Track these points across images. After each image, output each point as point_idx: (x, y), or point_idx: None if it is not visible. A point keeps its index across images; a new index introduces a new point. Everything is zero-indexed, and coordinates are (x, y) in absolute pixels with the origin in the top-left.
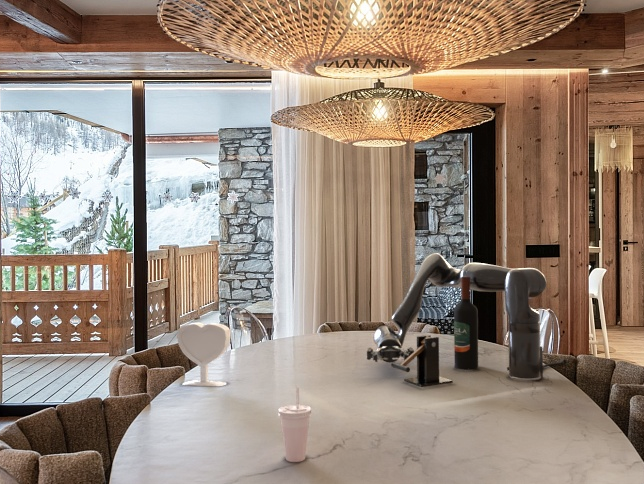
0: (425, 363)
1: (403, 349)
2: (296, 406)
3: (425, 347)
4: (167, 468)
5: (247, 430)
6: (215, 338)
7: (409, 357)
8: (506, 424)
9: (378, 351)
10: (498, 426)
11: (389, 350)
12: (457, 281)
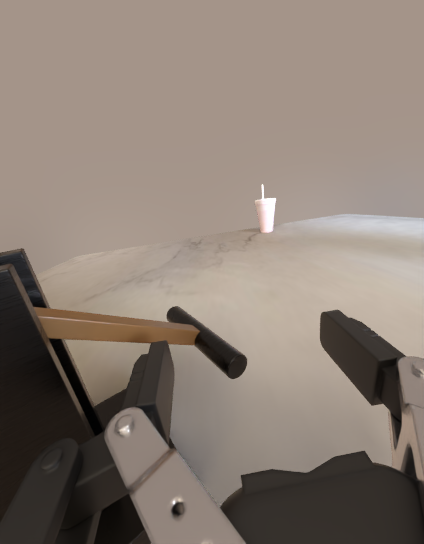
0: (75, 368)
1: (135, 481)
2: (263, 197)
3: (44, 297)
4: (329, 218)
5: (342, 235)
6: None
7: (148, 321)
8: (94, 281)
9: (401, 392)
10: (106, 277)
11: (324, 485)
12: None
